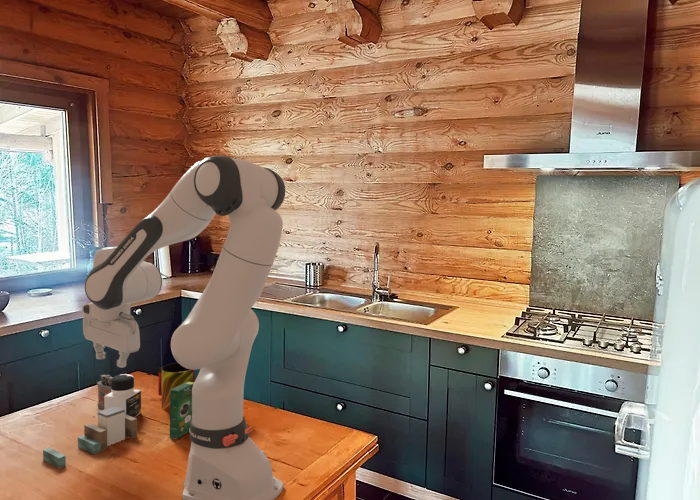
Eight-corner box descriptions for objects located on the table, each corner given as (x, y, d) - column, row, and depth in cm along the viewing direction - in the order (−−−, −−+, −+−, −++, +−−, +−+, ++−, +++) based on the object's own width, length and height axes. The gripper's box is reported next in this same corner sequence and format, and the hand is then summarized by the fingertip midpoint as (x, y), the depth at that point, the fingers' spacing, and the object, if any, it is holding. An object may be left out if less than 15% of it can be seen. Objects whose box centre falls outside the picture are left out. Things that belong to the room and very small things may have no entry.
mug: (159, 397, 169) (159, 360, 167) (200, 401, 166) (200, 364, 165) (142, 408, 159) (142, 369, 158) (185, 413, 157) (185, 373, 155)
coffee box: (187, 426, 148) (187, 380, 147) (196, 427, 147) (196, 381, 146) (168, 438, 140) (168, 389, 139) (178, 439, 139) (177, 391, 138)
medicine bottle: (126, 423, 149) (126, 381, 148) (104, 420, 150) (103, 379, 149) (141, 413, 156) (141, 373, 155) (119, 410, 157) (119, 371, 156)
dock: (137, 437, 140) (136, 418, 140) (59, 468, 123) (58, 447, 123) (120, 430, 144) (120, 412, 144) (43, 459, 127) (42, 439, 126)
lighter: (94, 406, 159) (94, 374, 159) (105, 403, 162) (105, 371, 161) (110, 413, 155) (109, 380, 154) (120, 410, 158) (120, 377, 157)
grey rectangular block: (125, 439, 139) (124, 409, 138) (107, 446, 135) (106, 415, 134) (115, 435, 141) (115, 405, 140) (98, 442, 137) (97, 411, 136)
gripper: (147, 314, 132) (146, 368, 133) (101, 301, 143) (100, 352, 145) (123, 318, 127) (122, 375, 128) (78, 305, 138) (77, 357, 139)
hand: (110, 362), depth 136 cm, fingers open, 8 cm apart
